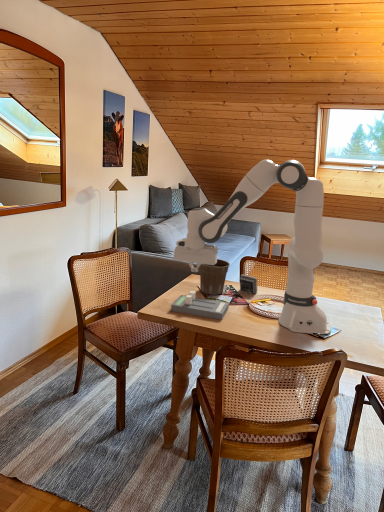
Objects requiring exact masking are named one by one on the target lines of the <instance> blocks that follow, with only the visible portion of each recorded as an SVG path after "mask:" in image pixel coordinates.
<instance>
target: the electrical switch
mask: <svg viewBox="0 0 384 512" xmlns="http://www.w3.org/2000/svg"><path fill="white" fill-rule="evenodd" d="M239 291H241V292H243V293H248V294H251V295H254V294H255V293H257V292H258V278H257V277H255V276H251V275H247V274H244V273H243V274H241V275H240V278H239Z"/></svg>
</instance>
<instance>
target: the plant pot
mask: <svg viewBox="0 0 384 512" xmlns="http://www.w3.org/2000/svg"><path fill="white" fill-rule="evenodd" d="M229 267H230V262H228V261H226V260H223V259H218V258H217V263H216V264H215V265H207V264H201V265H200V266H199V274H200V276H199V282H200V284H199V285H200V287H199V288H200V289H199V290H200V292H201V293H203V294H205V295H208V294H216V295H215V296H218V295H222V294H223V293H224V287H225V282H226V279H227V273H228V272H229Z"/></svg>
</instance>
